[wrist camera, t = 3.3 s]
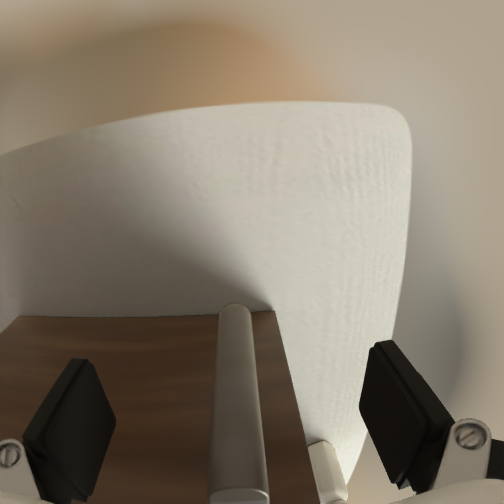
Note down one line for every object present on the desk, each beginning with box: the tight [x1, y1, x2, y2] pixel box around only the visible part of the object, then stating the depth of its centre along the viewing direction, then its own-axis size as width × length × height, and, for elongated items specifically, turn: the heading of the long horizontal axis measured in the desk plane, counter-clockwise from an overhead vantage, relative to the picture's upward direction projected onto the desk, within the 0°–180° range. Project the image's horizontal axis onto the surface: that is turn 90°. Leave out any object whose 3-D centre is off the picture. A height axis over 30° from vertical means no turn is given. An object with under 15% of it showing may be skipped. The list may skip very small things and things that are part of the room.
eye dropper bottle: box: [308, 441, 348, 504], centre depth 28 cm, size 4×6×12 cm
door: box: [0, 304, 321, 504], centre depth 14 cm, size 7×26×24 cm, turn 93°
